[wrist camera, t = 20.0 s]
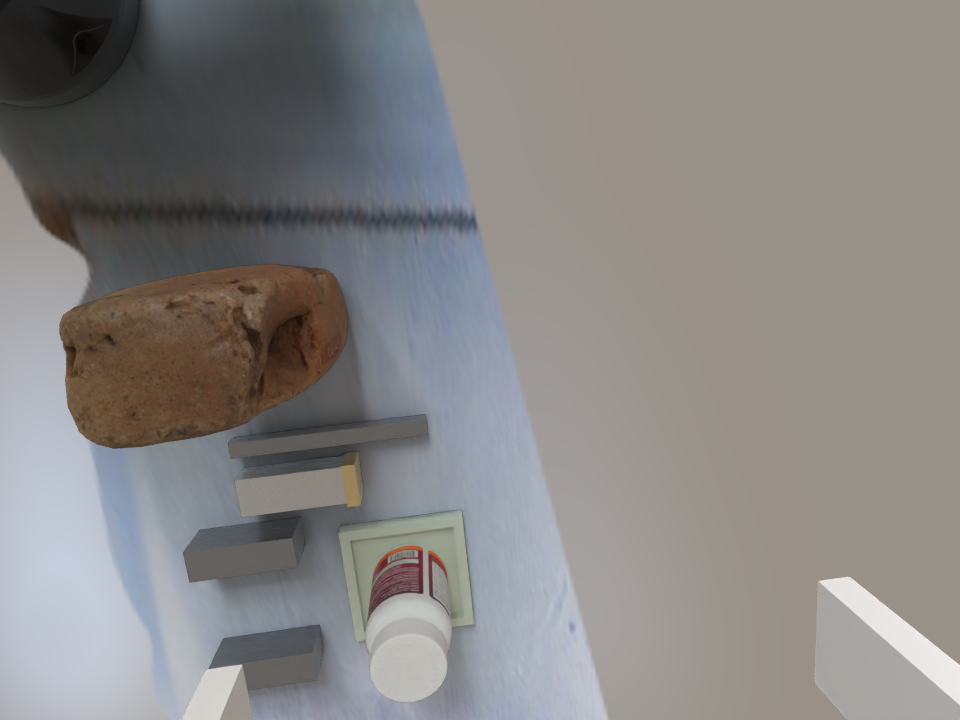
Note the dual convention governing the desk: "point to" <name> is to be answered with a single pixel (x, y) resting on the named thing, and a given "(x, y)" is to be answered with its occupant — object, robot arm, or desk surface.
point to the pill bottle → (409, 623)
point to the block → (199, 351)
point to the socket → (251, 553)
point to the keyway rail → (327, 436)
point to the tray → (378, 537)
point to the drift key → (300, 485)
